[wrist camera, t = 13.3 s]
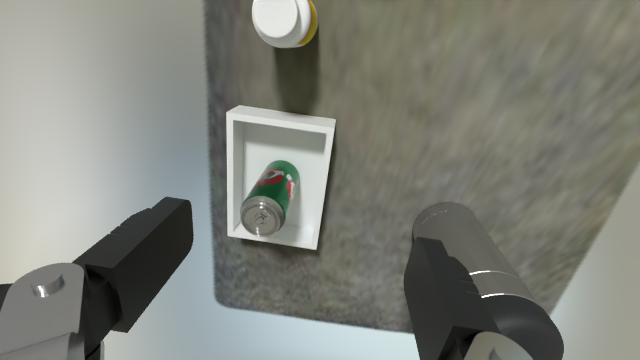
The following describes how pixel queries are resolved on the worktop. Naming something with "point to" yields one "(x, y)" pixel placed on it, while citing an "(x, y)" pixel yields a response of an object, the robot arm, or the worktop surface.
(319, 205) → the tote
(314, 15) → the supplement bottle
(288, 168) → the soda can
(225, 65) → the worktop surface
